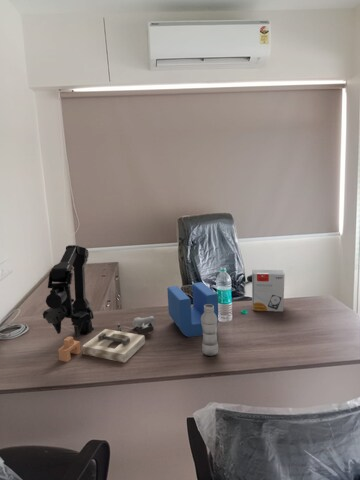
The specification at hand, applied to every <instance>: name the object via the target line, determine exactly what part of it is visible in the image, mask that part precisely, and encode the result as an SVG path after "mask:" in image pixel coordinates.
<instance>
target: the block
mask: <svg viewBox="0 0 360 480" xmlns="http://www.w3.org/2000/svg"><path fill="white" fill-rule="evenodd" d="M191 301H192V302H191ZM208 304H210V305H213V306H214V311H213V312H214V313H215V315H216V316H217V319H218V320H217V326H218V325H219V294H218V293H217V292H215V291H214V290H212V289H211V288H210V287H209V286H207V285H206V284H205V283H203V282H202V281H200V282H194V283H192V300H191V298H190V297H189V296H188V295H187V294H186V293H185V292H184V291H183V290H182V289H181V288H180V287H178V285H173V286H168V287H167V307H168V315H169V316H170V318H171V320H172V321H173V322H174V323H175V325H176V326H177V327H178V329H179V330H180V332H181V333H182V334H183V335H185V336H186V337H189V338H193V337H199V336H203V330H202V324H201V316H202V315H203V313H204V312H205V311H204V306H205V305H208ZM192 305H193V306H192Z"/></svg>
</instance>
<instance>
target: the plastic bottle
mask: <svg viewBox="0 0 360 480" xmlns="http://www.w3.org/2000/svg"><path fill="white" fill-rule="evenodd" d="M204 311H205V312H204V313H203V315H202V316H201V324H202V330H203V335H202V344H201V350H202V353H203V354H204V355H205V356H208V357H212V356H216V355H217V354H218V352H219V348H220V347H219V343H218V336H217V335H218V334H217V333H218V332H217V331H218V330H217V329H218V325H217V320H218V319H219V318H218V319H217V316H216V315H215V313H214V312H213V311H214V306H213V305H210V304H208V305H205V306H204ZM218 321H219V320H218Z"/></svg>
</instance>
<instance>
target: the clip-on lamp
mask: <svg viewBox="0 0 360 480" xmlns="http://www.w3.org/2000/svg"><path fill="white" fill-rule="evenodd" d="M155 321H156V318H155V317H154V316H153V315H151V316H146V317H138V316H137V317H135V318H134V319H133V321H132V326H133V327H128V326H124V325H123V326H121V324H120V323H118V324H117V329H118V330H117V331H120V332H122V328H126V329H130V330H134V329H136V334H138V335H145V334H149V333H151V332H154V331H155V329H154V328H155V326H153V324H154V323H155Z"/></svg>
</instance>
